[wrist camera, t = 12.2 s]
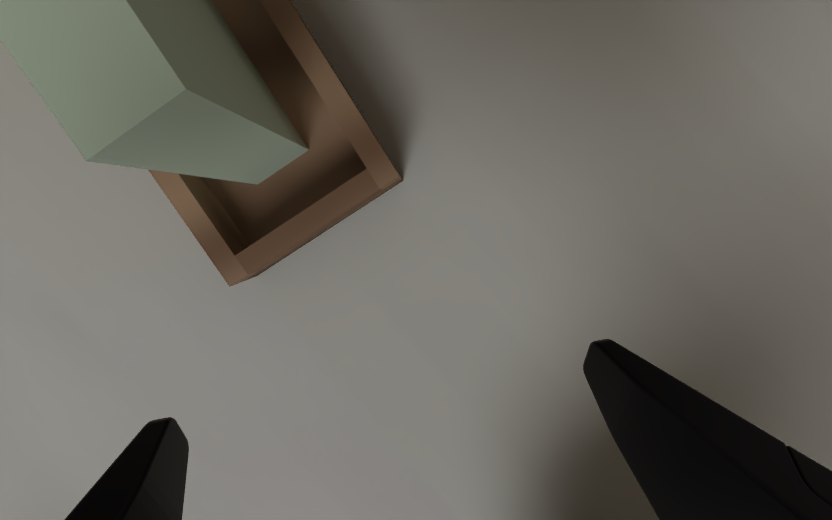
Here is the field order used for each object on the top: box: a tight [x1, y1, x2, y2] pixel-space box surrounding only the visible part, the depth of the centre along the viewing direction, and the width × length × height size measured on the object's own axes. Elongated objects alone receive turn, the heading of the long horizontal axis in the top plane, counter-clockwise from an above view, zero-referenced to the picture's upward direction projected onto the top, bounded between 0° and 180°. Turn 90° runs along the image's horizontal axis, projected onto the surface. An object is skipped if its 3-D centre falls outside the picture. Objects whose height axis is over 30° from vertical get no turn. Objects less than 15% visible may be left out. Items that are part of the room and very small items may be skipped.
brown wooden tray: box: [148, 0, 403, 286], centre depth 19 cm, size 16×9×3 cm, turn 33°
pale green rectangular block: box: [0, 0, 309, 185], centre depth 14 cm, size 9×3×10 cm, turn 33°
